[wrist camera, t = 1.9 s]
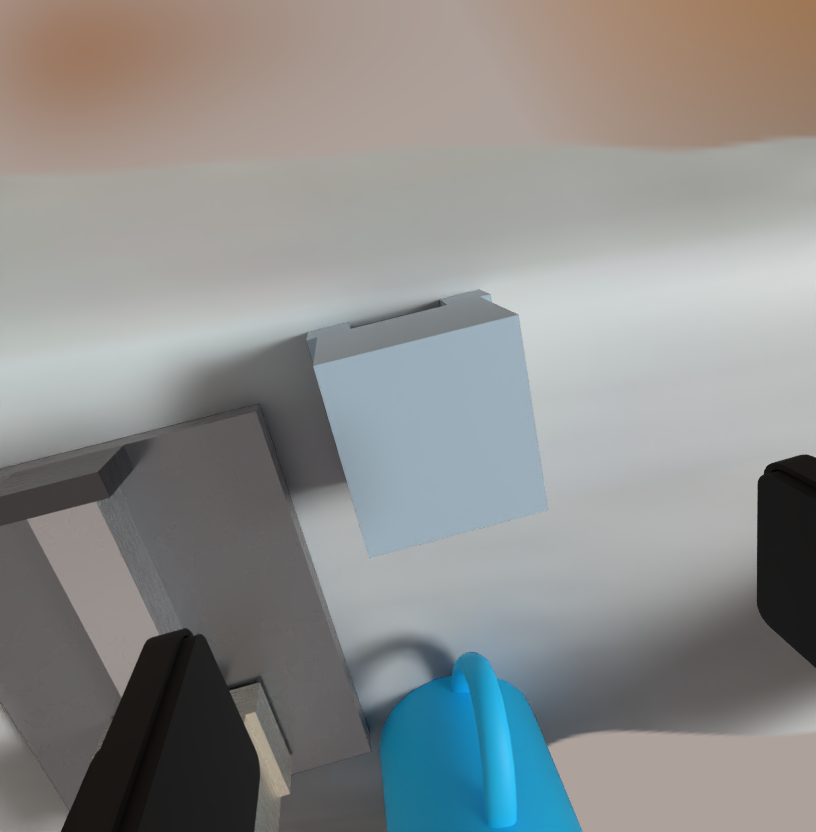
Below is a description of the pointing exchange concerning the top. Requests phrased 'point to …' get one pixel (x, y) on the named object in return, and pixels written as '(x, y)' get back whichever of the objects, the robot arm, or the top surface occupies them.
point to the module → (432, 421)
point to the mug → (470, 759)
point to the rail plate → (168, 596)
